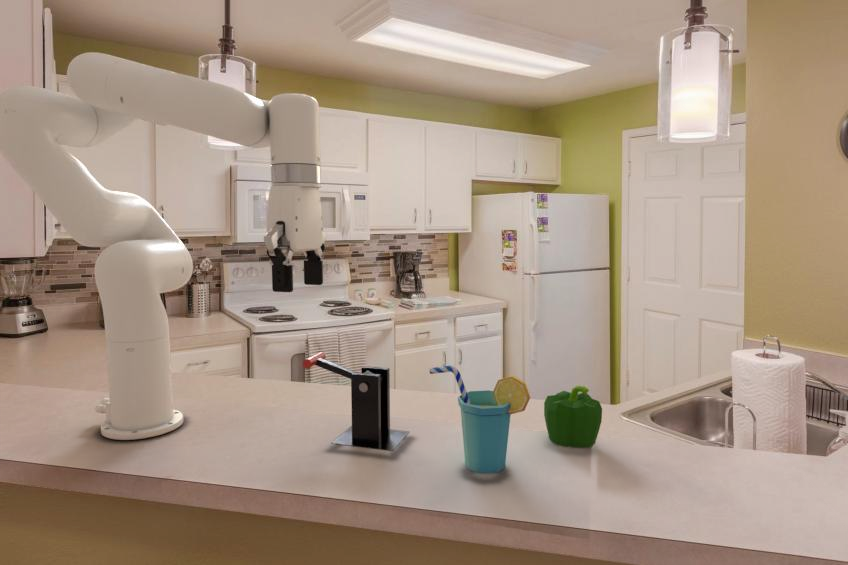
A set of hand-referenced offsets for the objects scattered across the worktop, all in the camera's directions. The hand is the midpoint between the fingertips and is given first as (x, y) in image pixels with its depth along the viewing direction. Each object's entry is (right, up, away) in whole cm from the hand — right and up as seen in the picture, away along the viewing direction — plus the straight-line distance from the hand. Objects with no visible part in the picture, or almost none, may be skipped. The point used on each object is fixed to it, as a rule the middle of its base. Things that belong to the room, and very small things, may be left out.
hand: (299, 287), depth 90 cm
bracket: (+11, -25, -1) cm, 27 cm away
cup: (+27, -26, -11) cm, 39 cm away
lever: (+7, -14, 0) cm, 16 cm away
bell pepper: (+43, -25, -2) cm, 49 cm away
